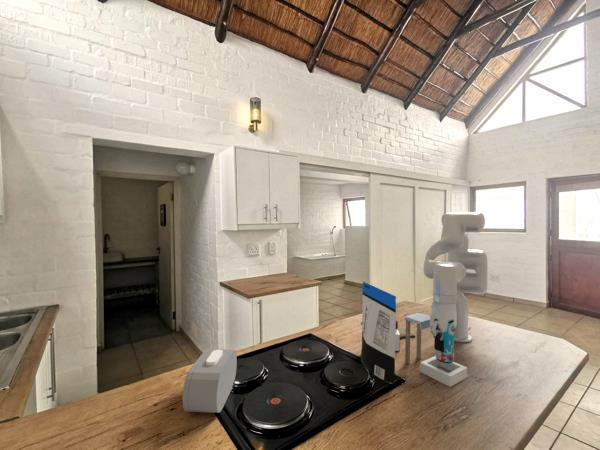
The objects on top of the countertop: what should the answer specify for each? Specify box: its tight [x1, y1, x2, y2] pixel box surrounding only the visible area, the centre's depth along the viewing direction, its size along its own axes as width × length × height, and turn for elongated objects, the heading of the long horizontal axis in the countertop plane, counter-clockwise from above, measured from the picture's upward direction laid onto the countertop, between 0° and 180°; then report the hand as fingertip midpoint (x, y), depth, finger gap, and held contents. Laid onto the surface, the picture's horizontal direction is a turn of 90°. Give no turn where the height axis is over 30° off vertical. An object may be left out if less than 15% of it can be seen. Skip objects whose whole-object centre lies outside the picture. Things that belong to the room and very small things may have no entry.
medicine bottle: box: [395, 320, 401, 352], centre depth 122 cm, size 7×7×12 cm
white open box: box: [404, 312, 468, 388], centre depth 103 cm, size 11×18×18 cm, turn 33°
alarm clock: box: [181, 348, 238, 414], centre depth 84 cm, size 21×10×13 cm, turn 178°
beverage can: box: [435, 320, 455, 363], centre depth 100 cm, size 6×6×15 cm
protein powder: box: [360, 281, 397, 387], centre depth 104 cm, size 10×24×30 cm, turn 13°
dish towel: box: [361, 321, 416, 340], centre depth 142 cm, size 17×23×2 cm
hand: (443, 348), depth 100 cm, fingers closed on beverage can, 5 cm apart
